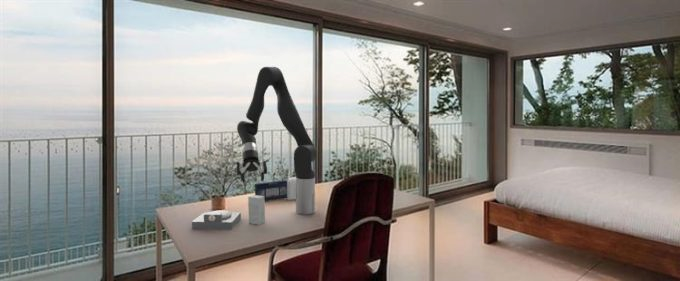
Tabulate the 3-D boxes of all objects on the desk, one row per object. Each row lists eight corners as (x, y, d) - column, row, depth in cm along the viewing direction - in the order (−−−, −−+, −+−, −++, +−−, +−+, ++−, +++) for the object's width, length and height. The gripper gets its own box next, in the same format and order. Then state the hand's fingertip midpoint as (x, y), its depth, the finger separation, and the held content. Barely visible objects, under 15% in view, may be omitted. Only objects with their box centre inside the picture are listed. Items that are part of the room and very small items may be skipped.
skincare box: (265, 222, 171) (265, 195, 170) (260, 224, 167) (259, 198, 166) (253, 220, 173) (253, 194, 172) (248, 223, 169) (247, 196, 168)
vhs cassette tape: (256, 202, 204) (256, 184, 203) (254, 201, 207) (254, 183, 206) (288, 198, 213) (288, 181, 212) (286, 197, 216) (286, 180, 215)
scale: (240, 219, 175) (240, 206, 175) (231, 229, 161) (231, 215, 161) (204, 218, 175) (203, 205, 175) (192, 228, 162) (191, 214, 161)
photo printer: (302, 196, 217) (302, 175, 216) (305, 198, 214) (305, 176, 213) (285, 199, 212) (285, 177, 210) (289, 200, 208) (289, 178, 207)
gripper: (235, 149, 184) (237, 177, 175) (265, 148, 189) (269, 175, 179) (235, 158, 190) (237, 186, 180) (263, 157, 194) (267, 184, 185)
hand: (253, 180), depth 180 cm, fingers open, 8 cm apart
